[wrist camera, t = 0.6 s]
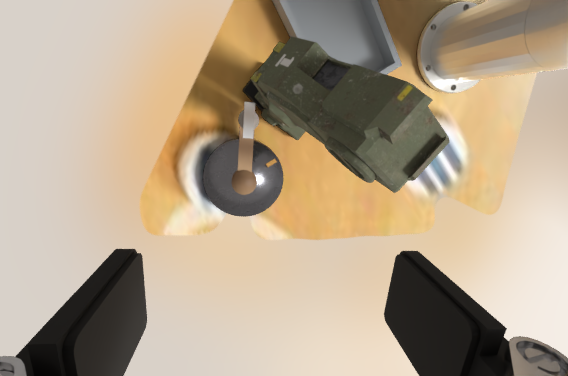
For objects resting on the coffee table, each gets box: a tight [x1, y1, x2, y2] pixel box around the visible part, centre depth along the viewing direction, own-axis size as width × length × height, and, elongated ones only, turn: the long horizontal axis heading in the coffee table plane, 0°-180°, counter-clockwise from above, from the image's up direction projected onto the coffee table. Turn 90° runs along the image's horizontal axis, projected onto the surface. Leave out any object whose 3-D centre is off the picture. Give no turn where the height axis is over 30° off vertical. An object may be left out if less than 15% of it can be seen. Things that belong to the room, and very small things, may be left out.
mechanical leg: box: [243, 37, 449, 193], centre depth 29 cm, size 14×7×30 cm, turn 49°
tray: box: [272, 0, 402, 75], centre depth 39 cm, size 12×17×3 cm
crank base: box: [203, 139, 283, 216], centre depth 43 cm, size 12×12×2 cm
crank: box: [232, 102, 259, 195], centre depth 37 cm, size 13×4×8 cm, turn 175°
